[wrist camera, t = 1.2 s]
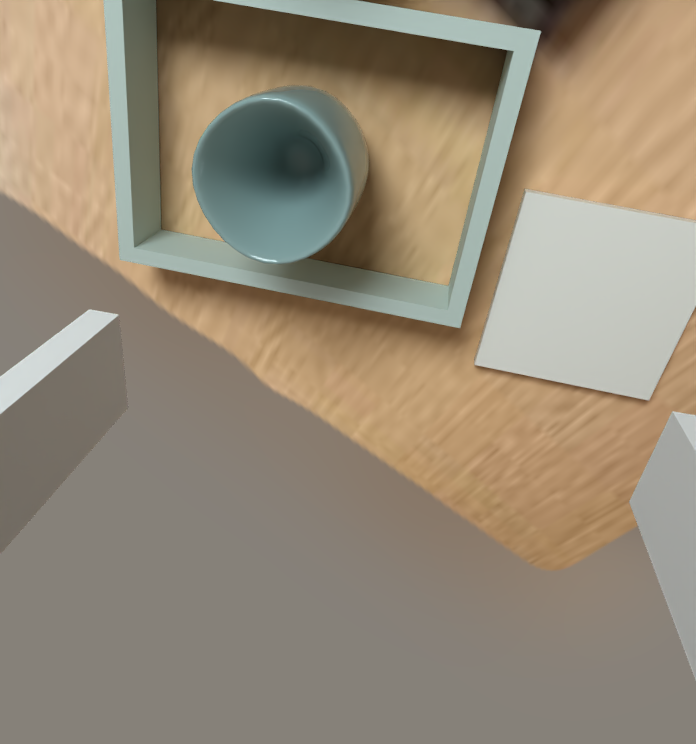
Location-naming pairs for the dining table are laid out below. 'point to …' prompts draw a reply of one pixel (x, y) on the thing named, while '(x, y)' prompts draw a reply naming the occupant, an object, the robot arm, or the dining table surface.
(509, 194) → the dining table surface
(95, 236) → the dining table surface
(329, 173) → the cup
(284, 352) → the dining table surface
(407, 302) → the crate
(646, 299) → the plate
